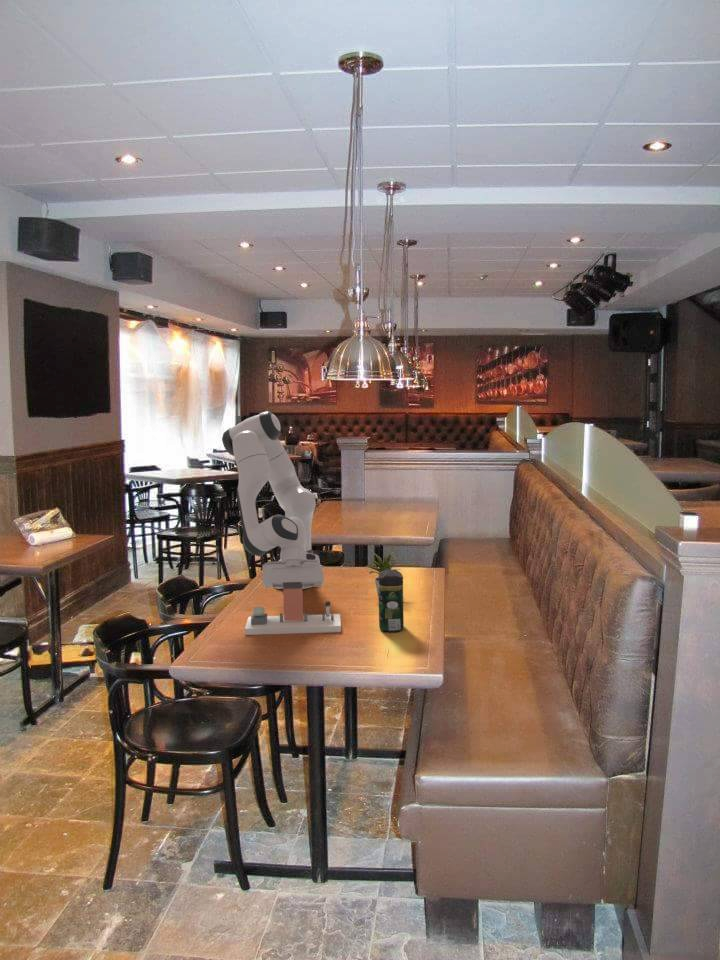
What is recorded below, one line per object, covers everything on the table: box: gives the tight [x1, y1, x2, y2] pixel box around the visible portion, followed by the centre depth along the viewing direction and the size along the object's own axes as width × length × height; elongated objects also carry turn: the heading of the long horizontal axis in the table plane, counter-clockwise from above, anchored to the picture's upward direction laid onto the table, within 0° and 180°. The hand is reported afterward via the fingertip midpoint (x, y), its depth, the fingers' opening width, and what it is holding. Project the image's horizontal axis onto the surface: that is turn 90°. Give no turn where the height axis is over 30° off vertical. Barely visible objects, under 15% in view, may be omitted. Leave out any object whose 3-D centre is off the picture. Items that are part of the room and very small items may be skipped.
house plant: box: [363, 551, 402, 595], centre depth 269 cm, size 14×14×16 cm
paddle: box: [282, 582, 304, 620], centre depth 233 cm, size 2×6×12 cm, turn 94°
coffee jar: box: [377, 568, 405, 633], centre depth 231 cm, size 10×8×19 cm
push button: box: [252, 606, 266, 616], centre depth 233 cm, size 4×4×2 cm
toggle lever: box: [324, 600, 331, 617], centre depth 235 cm, size 2×2×5 cm
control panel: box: [244, 612, 342, 636], centre depth 234 cm, size 12×30×4 cm, turn 93°
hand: (293, 597), depth 238 cm, fingers closed
